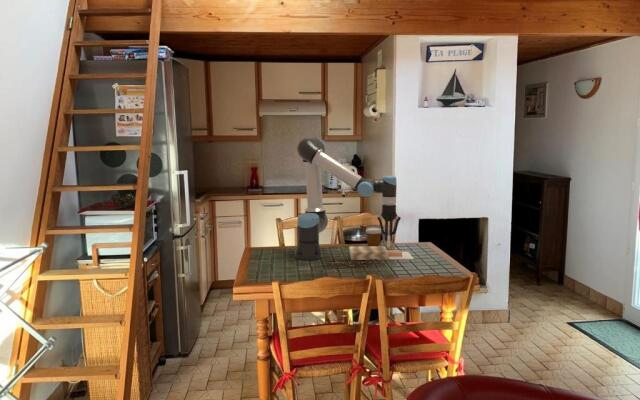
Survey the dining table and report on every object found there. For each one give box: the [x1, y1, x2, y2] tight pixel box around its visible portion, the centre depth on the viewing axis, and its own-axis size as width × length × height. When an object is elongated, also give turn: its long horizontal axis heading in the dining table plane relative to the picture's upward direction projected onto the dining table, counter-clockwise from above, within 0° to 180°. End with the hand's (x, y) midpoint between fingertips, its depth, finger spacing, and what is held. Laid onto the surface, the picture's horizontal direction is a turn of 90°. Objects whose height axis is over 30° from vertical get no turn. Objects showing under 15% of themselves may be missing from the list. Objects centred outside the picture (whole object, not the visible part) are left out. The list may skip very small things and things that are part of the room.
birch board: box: [348, 245, 389, 261], centre depth 264 cm, size 20×14×4 cm
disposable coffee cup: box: [365, 227, 382, 246], centre depth 281 cm, size 10×10×12 cm
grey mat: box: [389, 251, 415, 261], centre depth 265 cm, size 13×15×1 cm
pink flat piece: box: [387, 249, 403, 257], centre depth 265 cm, size 8×6×2 cm
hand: (388, 246), depth 264 cm, fingers closed
